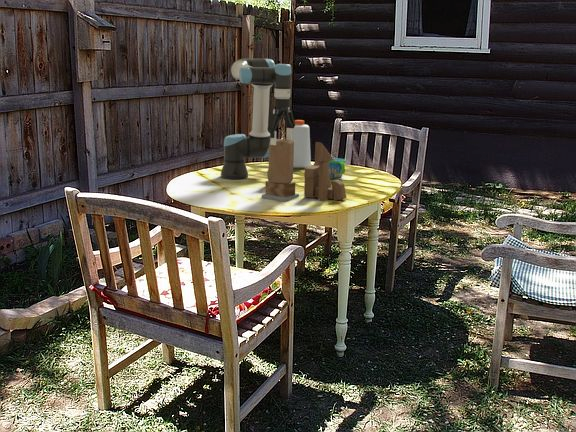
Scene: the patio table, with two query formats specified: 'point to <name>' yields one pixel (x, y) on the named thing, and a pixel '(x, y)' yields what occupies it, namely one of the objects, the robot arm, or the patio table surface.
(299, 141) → the plastic bottle
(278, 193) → the walnut brick
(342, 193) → the wooden blocks
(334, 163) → the snack cup
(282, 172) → the wooden block
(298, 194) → the plate
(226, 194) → the patio table surface
